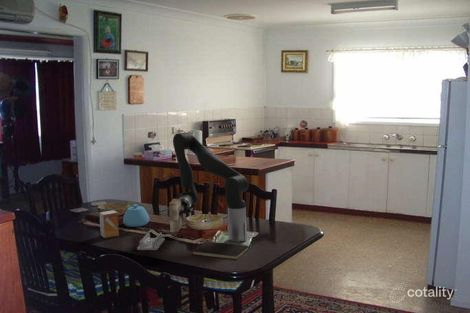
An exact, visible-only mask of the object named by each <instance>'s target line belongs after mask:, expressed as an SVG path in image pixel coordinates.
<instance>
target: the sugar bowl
mask: <svg viewBox="0 0 470 313" xmlns="http://www.w3.org/2000/svg"><path fill="white" fill-rule="evenodd" d="M122 218H123V219H122V223H123V224H124V225H125V226H126V227H129V228H139V227H144V226H147V224H148V223H149V222H150V216H149V214H148V212H147V210H146V209H145V207H144V206H139V204H133V205H132V206H130V207H128V208H127V209H126V211H125V213H124V214H123V216H122Z"/></svg>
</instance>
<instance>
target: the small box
mask: <svg viewBox="0 0 470 313" xmlns="http://www.w3.org/2000/svg"><path fill="white" fill-rule="evenodd" d="M98 214H99V228H100V229H99V230H100V236H101V237H103V238H104V239H108V238H113V237H118V236H120V235H119V234H120V232H119V219H118V218H119V215H118V212H117V211H116V210H109V211H107V210H106V211H101V212H99V213H98Z"/></svg>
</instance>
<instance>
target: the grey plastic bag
mask: <svg viewBox="0 0 470 313" xmlns="http://www.w3.org/2000/svg"><path fill="white" fill-rule="evenodd" d="M165 240H166V239H165V237H163V233H162V232H159V233H158V234H157V236H156V237H151V232H146V234H145V235H144V236H143V237H142V238H141V239H140V240H139V244H138V246H137V247H136V249H137V250H138V251H157V250H158V249H159V248H160V247H161V246H162V245H163V243H164V242H165Z"/></svg>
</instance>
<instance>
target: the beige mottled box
mask: <svg viewBox="0 0 470 313" xmlns="http://www.w3.org/2000/svg"><path fill="white" fill-rule="evenodd" d="M168 204H169V205H168V207H169V211H170V214H169V226H170V227H169V228H170V230H169V231H170V233H179V231H180V230H181V228H182V227H183V225H182V224H183V222H182V221H183V219H182V215H181V216H179V211H180V210H181V199H179V198H173V199H172V200H171V201H170V202H169V203H168Z"/></svg>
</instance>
